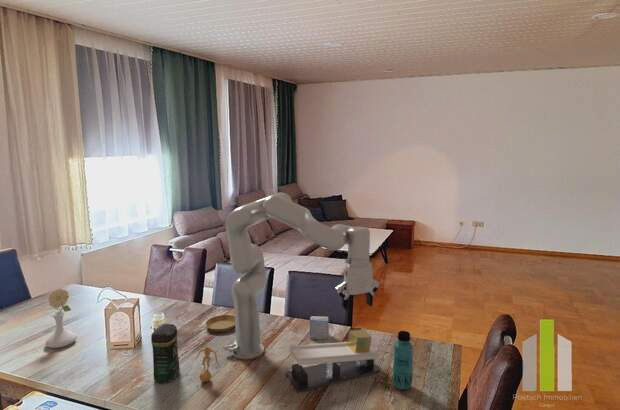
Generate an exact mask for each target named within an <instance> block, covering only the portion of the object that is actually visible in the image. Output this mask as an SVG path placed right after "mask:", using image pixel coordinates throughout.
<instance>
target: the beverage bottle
mask: <svg viewBox="0 0 620 410" xmlns="http://www.w3.org/2000/svg"><path fill="white" fill-rule="evenodd" d="M393 346H394V347H393V363H392V368H393V369H392V384H393V386H395V387H396V388H398V389H401V390H407V389H410V388H411V387H412V385H413V384H412V383H413V367H414V366H413V363H414V360H413V356H414V355H413V354H414V345H413V343H412V342H411V333H410V332H409V331H407V330H400V331H398V333H397V340H396V341H395V342H394V343H393Z"/></svg>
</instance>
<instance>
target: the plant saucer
mask: <svg viewBox="0 0 620 410" xmlns="http://www.w3.org/2000/svg"><path fill="white" fill-rule="evenodd" d="M205 326H206V327H207V328H208V329H209V330H210V331H213V332H215V333H216V332H217V333H224V332H227V331H231V330H233V328H235V315H231V314H221V315H216V316H212V317H210V318H209V319H207V320H206V321H205Z"/></svg>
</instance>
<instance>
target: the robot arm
mask: <svg viewBox="0 0 620 410" xmlns="http://www.w3.org/2000/svg"><path fill="white" fill-rule="evenodd" d="M270 219H275V220H276V221H279V222H280V223H283V224H285V225H287V226H289V227H290V228H293V229H295V230H297V231H298V232H299V233H300V234H302V236H304V237H305V238H306V239H307V240H309V241H311V243H314V244H316V245H318V246H321V247H322V248H324V249H327V250H329V251H339V250H341V249H342V248H343V247H344V246H345V245H347V247H348V248H347V251H348V252H347V259H345V260H344V263H345V264H346V266H345V270H344V274H343V275H344V276H343V282H342V283H340V284H338V285H337V286H336V287H335V291H336V292H337V294H338V296H339V297H341V305H342V308H343V309H344V310H345V311H349V299H348V298H349V297H350V295H351V296H353V295H354V296H355V295H362V294H366V295H365V297H366V298H365V299H366V300H365V304H366V305H368V306H369V307H373V301H374V300H373V299H374V296H375V293H376V292H377V291H378V288H379V285H380V283H381V282H380V281H378V280H376V279H374V274H373V268H372V267H373V266H372V264H370V247H371V246H370V245H371V244H370V243H371V242H370V241H371V240H370V239H371V231H370V229H369V228H368V227H365V226H361V225H360V226H358V225H357V226H351V225H348V224H341V223H337V224H334V225H333V226H332V227H330V226H328V225H325V224H324V223H321V222H320V221H318V220H317V219H315V217H314V216H313V215H312V213H311V210H309V209H308V208H306V207H305V206H302V205H300V204H298V203H296V202H293V199H292V198H291V196H290V195H289V194H288V193H285V192H276V193H274V194H271V195H269V196H267V197H264V198H261V199H258V200H255V201H252V202H250V203H246V204H244V205H241V206H238V207H237V208H235V209H234V210H233V211H231V212H230V213H229V214H228V216H227V217H226V220H225V232H226V237H227V244H228V253H229V258H230V266H231V268H232V270H233V271H234V272H235V273H236V274H239V275H240V276H239V277H238V278H237V279H235V281H234V282H233V284H232V286H231V298H232V302H233V309H234V316H235V326H234V328H235V329H234V330H235V331H234V332H235V339H234V341H233V343H231V344H225V345H224V346H223V350H224V352H226V351H228V353H232V355H233V357H235V358H236V359H239V360H243V361H244V360H254V359H256V358H258V357H259V358H260V356H263V354H264V352H265V346H264V344H262V343H261V332H260V310H259V309H260V307H259V303H258V300H257V295H258V294H259V293H260V292H262V290H263V289H265V287H266V284H267V274H266V266H265V265H266V264H265V258H264V254H263V251H262V249H261V248H260V246H258V245H257V244H255V243H251V242H252V241H251V237H250V233H249V231H248V229H249V228H250V227H253V226H255V225H258V224H260V223H262V222H264V221H267V220H270ZM342 289H343V291H342Z"/></svg>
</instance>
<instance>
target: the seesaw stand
mask: <svg viewBox="0 0 620 410" xmlns="http://www.w3.org/2000/svg"><path fill="white" fill-rule="evenodd" d="M380 372H381V369H380V367H378V365H376V364H375V359H368V360H357V361H345V362H334V363H322V364H312V365H310V366H306V367H303V365H298V363H297V362H296V363H294V364H291V370H288V371H286V372H285V375H286V376H287V378H288V380H289V382H290V384H291V385H292V387H293V388H294V390H295V392H296V393H297V394H301V393H304V392H308V391H312V390H316V389H320V388H323V387H324V388H325V387H328V386H332V385H335V384H339V383H344V382H348V381H351V380H355V379H360V378H363V377H367V376H371V375H374V374H379V373H380Z"/></svg>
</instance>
